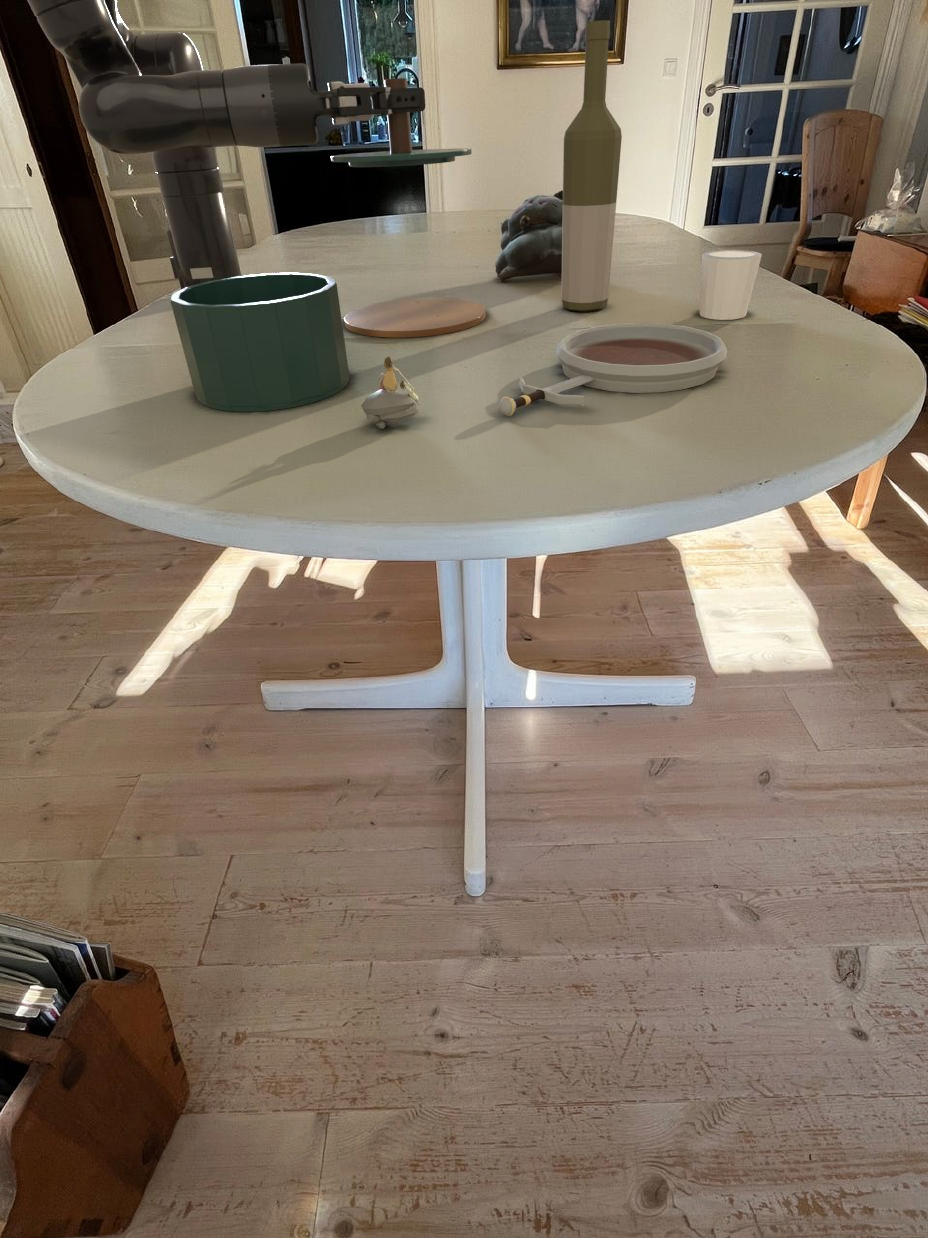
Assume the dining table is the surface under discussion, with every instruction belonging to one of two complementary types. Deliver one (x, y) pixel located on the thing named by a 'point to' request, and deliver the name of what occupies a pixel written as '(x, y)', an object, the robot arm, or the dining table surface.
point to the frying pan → (629, 362)
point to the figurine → (390, 399)
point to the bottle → (590, 184)
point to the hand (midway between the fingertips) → (422, 99)
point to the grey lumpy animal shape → (532, 238)
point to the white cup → (727, 283)
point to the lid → (400, 144)
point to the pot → (262, 340)
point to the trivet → (415, 317)
